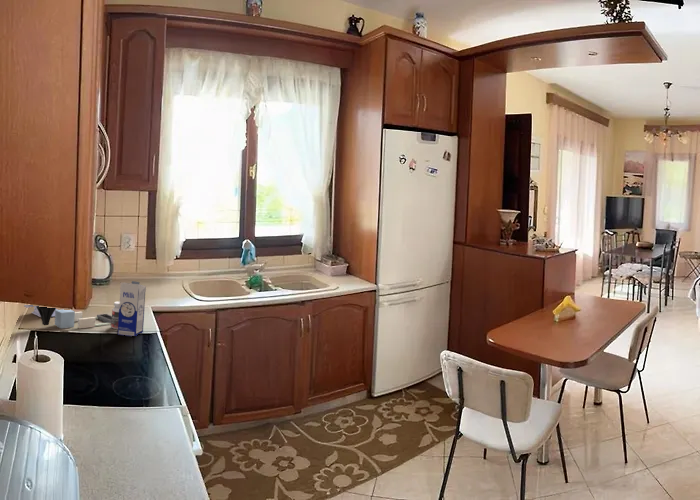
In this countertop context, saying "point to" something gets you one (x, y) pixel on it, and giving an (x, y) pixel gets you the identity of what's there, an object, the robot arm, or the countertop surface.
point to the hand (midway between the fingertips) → (45, 324)
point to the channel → (86, 321)
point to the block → (64, 318)
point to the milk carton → (131, 309)
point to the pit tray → (105, 318)
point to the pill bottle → (115, 315)
